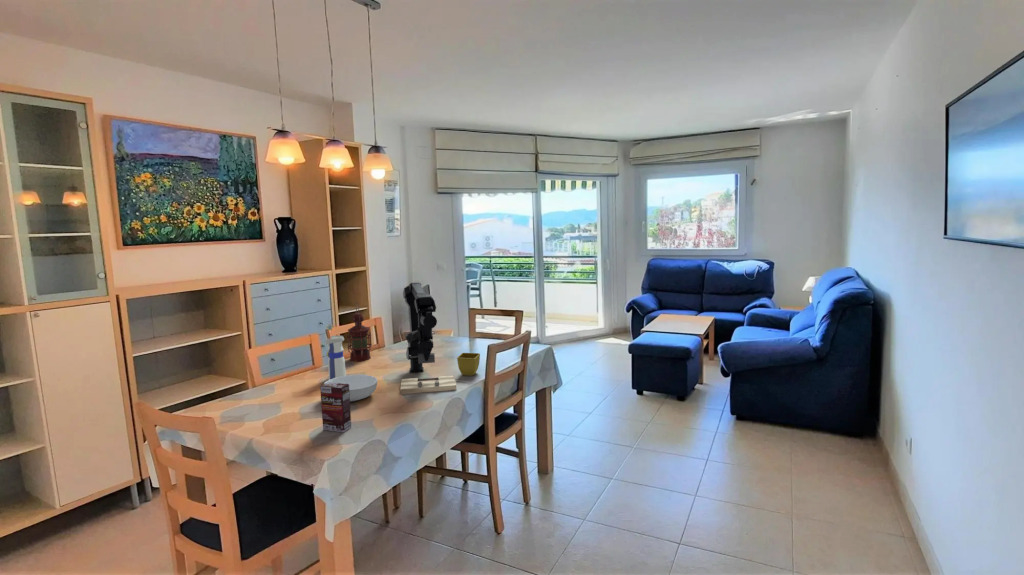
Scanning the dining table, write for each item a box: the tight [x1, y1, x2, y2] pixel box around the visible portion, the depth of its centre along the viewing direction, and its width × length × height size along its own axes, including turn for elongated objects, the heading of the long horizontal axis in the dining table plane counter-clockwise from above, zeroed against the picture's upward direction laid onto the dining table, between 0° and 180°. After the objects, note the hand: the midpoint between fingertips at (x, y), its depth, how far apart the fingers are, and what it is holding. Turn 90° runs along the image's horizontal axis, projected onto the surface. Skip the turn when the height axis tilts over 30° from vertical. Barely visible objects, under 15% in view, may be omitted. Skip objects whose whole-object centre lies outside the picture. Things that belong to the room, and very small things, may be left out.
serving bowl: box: [323, 374, 378, 403], centre depth 209 cm, size 21×21×7 cm
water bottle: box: [325, 323, 347, 380], centre depth 234 cm, size 8×8×25 cm
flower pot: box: [456, 352, 481, 376], centre depth 238 cm, size 9×9×9 cm
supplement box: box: [319, 382, 352, 433], centre depth 177 cm, size 9×5×16 cm, turn 75°
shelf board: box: [400, 375, 457, 395], centre depth 222 cm, size 14×23×4 cm, turn 100°
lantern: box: [346, 301, 373, 362], centre depth 268 cm, size 12×12×30 cm
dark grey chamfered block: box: [418, 352, 436, 364], centre depth 223 cm, size 3×7×4 cm, turn 100°
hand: (426, 359), depth 224 cm, fingers closed on dark grey chamfered block, 3 cm apart
